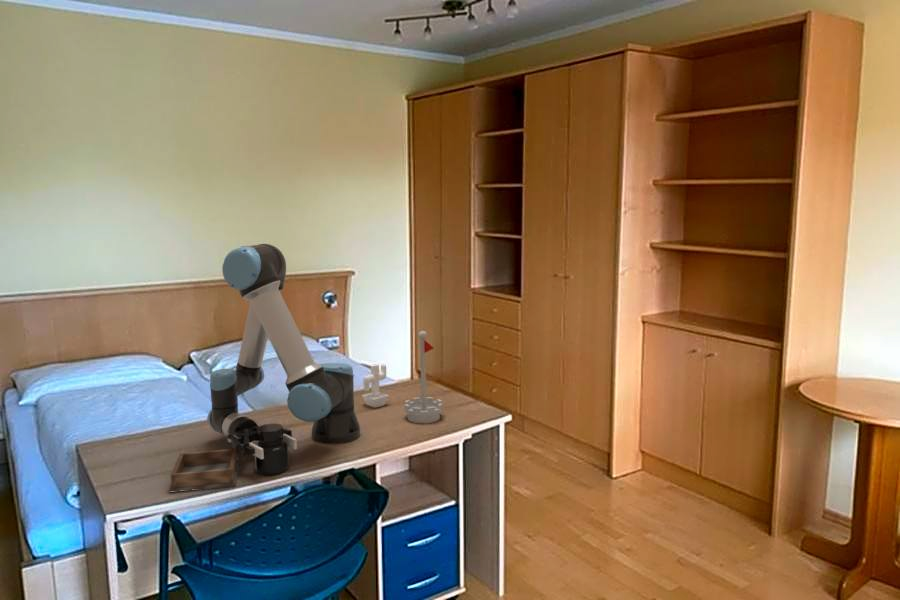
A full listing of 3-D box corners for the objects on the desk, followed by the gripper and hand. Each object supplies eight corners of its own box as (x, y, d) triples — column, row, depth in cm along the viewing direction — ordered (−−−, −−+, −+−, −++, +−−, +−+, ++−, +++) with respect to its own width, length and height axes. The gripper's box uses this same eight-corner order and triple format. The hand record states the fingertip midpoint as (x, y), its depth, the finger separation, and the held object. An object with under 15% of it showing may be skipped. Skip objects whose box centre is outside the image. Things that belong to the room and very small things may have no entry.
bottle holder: (239, 462, 188) (238, 447, 188) (235, 486, 173) (234, 469, 172) (179, 468, 185) (178, 453, 184) (169, 493, 169) (168, 476, 169)
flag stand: (396, 418, 225) (394, 331, 221) (423, 409, 235) (422, 325, 230) (424, 427, 217) (423, 336, 212) (450, 417, 226) (450, 330, 222)
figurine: (359, 405, 239) (357, 365, 237) (379, 400, 246) (378, 360, 243) (371, 410, 234) (370, 368, 232) (392, 404, 240) (391, 364, 238)
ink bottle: (272, 460, 190) (270, 419, 188) (296, 465, 186) (294, 424, 184) (247, 472, 181) (244, 430, 180) (271, 478, 177) (269, 435, 175)
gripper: (274, 432, 203) (314, 451, 187) (204, 451, 189) (241, 474, 172) (273, 408, 202) (313, 426, 186) (203, 425, 187) (240, 446, 171)
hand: (279, 449), depth 179 cm, fingers closed on ink bottle, 9 cm apart
